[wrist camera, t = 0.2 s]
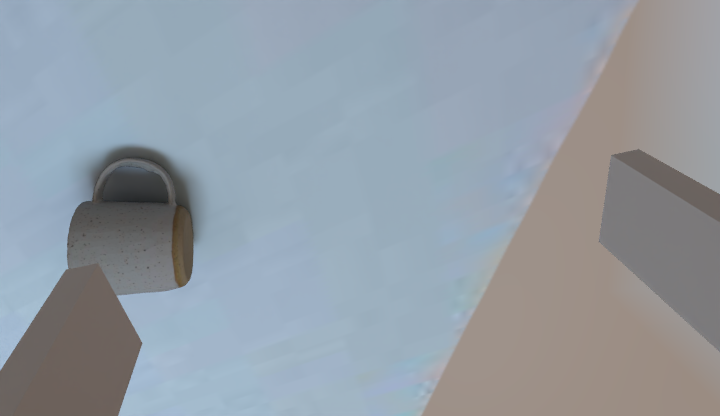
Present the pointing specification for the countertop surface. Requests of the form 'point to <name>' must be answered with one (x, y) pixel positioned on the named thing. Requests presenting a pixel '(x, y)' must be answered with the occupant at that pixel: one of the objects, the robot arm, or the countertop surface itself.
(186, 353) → the countertop surface
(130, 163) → the ceramic mug
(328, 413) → the countertop surface
